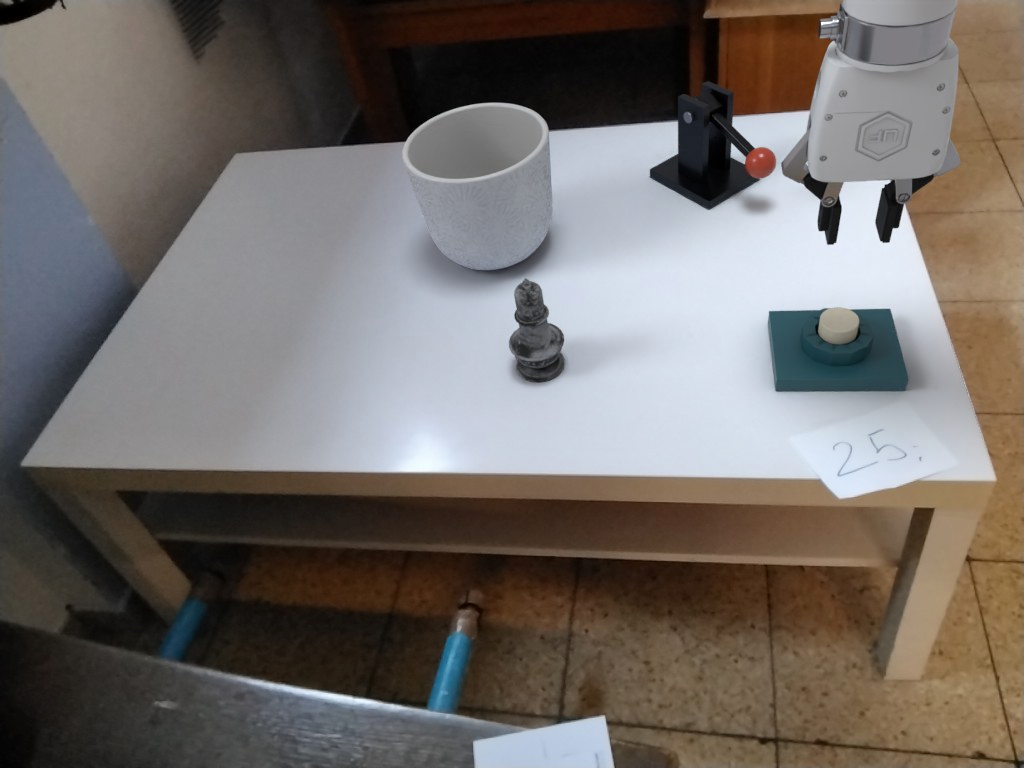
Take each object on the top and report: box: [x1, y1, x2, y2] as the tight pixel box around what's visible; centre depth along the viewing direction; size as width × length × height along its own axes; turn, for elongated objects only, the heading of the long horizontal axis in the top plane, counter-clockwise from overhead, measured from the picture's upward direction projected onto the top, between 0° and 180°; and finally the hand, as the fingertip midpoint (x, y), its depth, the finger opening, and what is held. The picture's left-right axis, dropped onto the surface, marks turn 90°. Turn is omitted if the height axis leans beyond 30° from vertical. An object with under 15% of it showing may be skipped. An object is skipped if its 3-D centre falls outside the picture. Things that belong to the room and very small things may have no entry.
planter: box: [401, 102, 553, 271], centre depth 99 cm, size 17×17×15 cm
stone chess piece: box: [508, 278, 566, 383], centre depth 85 cm, size 6×6×12 cm
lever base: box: [649, 80, 760, 210], centre depth 104 cm, size 11×9×12 cm
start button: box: [818, 306, 859, 345], centre depth 81 cm, size 4×4×2 cm
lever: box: [693, 90, 777, 180], centre depth 100 cm, size 13×4×4 cm, turn 35°
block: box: [767, 307, 910, 392], centre depth 83 cm, size 12×10×4 cm
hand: (855, 232), depth 73 cm, fingers open, 3 cm apart
